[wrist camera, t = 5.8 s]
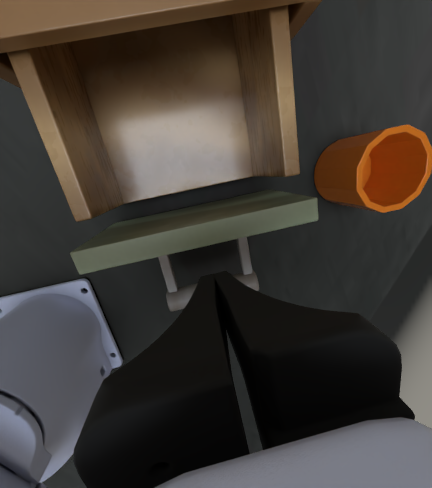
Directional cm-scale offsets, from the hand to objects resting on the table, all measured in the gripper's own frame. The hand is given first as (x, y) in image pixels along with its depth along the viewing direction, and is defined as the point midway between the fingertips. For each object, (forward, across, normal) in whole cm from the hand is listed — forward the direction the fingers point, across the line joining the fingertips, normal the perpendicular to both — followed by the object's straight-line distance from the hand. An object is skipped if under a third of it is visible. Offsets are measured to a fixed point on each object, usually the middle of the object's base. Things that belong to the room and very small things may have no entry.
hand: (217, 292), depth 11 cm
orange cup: (+9, -13, -3) cm, 16 cm away
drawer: (+8, 0, -7) cm, 11 cm away
